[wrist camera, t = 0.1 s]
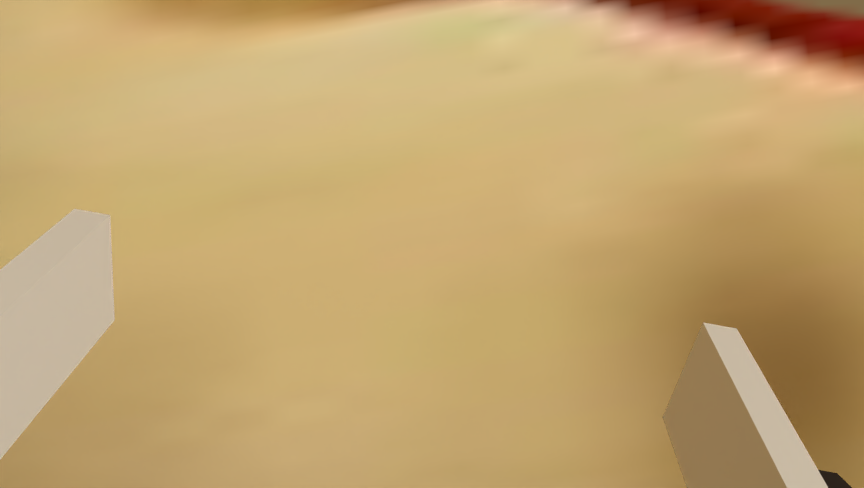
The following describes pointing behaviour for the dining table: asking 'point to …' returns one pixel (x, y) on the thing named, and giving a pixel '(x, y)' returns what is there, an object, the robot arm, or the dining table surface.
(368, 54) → the dining table surface
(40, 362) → the robot arm
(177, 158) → the dining table surface
